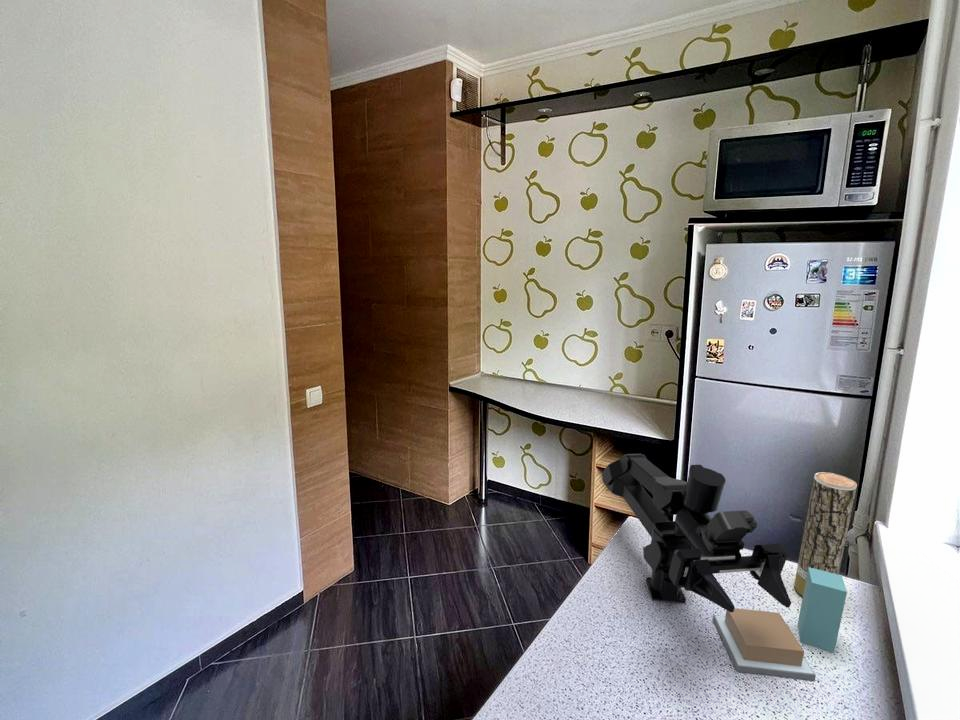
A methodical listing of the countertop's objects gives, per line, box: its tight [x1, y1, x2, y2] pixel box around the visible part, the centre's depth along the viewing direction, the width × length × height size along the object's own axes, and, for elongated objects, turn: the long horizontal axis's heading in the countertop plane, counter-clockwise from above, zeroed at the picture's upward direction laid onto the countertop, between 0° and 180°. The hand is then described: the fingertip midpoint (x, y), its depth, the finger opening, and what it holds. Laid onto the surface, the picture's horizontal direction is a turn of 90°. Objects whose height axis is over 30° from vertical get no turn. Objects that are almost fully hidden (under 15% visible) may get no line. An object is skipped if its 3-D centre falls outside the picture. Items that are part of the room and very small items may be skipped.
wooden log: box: [793, 471, 858, 597], centre depth 100 cm, size 7×7×25 cm
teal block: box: [797, 567, 848, 654], centre depth 90 cm, size 5×5×12 cm
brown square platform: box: [712, 607, 817, 682], centre depth 88 cm, size 12×12×4 cm
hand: (761, 607), depth 75 cm, fingers open, 9 cm apart
